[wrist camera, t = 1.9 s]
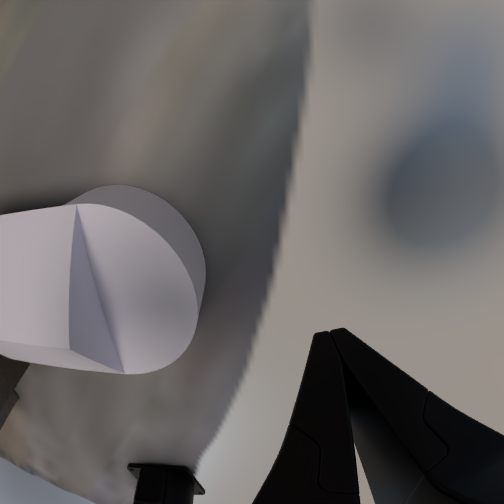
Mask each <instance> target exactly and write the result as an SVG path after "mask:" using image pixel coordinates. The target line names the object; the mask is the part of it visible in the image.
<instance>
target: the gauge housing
mask: <svg viewBox="0 0 504 504" xmlns="http://www.w3.org/2000/svg"><path fill="white" fill-rule="evenodd" d="M18 398H19V396H18V395H17V394H16V392H15V391H14V390H13V391H12V393H11V395H10V396H9V398H8V400H7V401H6V403H5V404H4V406H3V408H2V410H1V411H0V430H1V428H2V426H3V424H4V422H5V421H6V419H7V417H8V415H9V414H10V412H11V410H12V408H13V407H14V405H15V403H16V401H17V400H18Z"/></svg>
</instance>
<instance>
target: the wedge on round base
mask: <svg viewBox="0 0 504 504" xmlns="http://www.w3.org/2000/svg"><path fill="white" fill-rule="evenodd" d="M205 283H206V266H205V259H204V255H203V251H202V248H201V245H200V243H199V240H198V238H197V236H196V234H195V233H194V231H193V229H192V228H191V226H190V225H189V224H188V222H187V221H186V220H185V218H184V217H183V216H182V215H181V214H180V213H179V212H178V211H177V210H176V209H175V208H174V207H173V206H171V205H170V204H169V203H167V202H166V201H165V200H163V199H162V198H160V197H158V196H157V195H155V194H153V193H150V192H148V191H146V190H143V189H140V188H136V187H132V186H126V185H107V186H102V187H97V188H95V189H92V190H90V191H87V192H85V193H84V194H82V195H80V196H78V197H77V198H75V199H73V200H72V201H70V202H68V203H66V204H65V205H63V206H58V207H50V208H43V209H36V210H30V211H23V212H17V213H11V214H5V215H0V354H1V355H3V356H6V357H8V358H10V359H14V360H20V361H25V362H31V363H37V364H43V365H49V366H56V367H63V368H71V369H79V370H87V371H97V372H107V373H119V374H142V373H148V372H152V371H156V370H159V369H161V368H164V367H166V366H167V365H169V364H171V363H173V362H174V361H175V360H176V359H178V358H179V357H180V356H181V355H182V354H183V353H184V351H185V350H186V349H187V348H188V346H189V344H190V342H191V341H192V338H193V336H194V333H195V330H196V326H197V321H198V316H199V311H200V307H201V302H202V297H203V293H204V288H205Z"/></svg>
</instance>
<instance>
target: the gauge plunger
mask: <svg viewBox="0 0 504 504" xmlns="http://www.w3.org/2000/svg"><path fill="white" fill-rule="evenodd" d="M29 365H30V364H29V362H25V361H20V360H14V359H10V358H8V357H6V356H3V355H1V354H0V411H1V410H2V408H3V406H4V404H5V403H6V401H7V400H8V398H9V396H10V395H11V393H12V391H13V390H14V388H15V387H16V385H17V383H18V382H19V380H20V379H21V377H22V376H23V374H24V373H25V371H26V369H27V368H28V366H29Z"/></svg>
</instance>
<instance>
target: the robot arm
mask: <svg viewBox="0 0 504 504" xmlns="http://www.w3.org/2000/svg"><path fill="white" fill-rule="evenodd" d="M289 424H290V425H289V426H288V428H287V432H286V435H285V438H284V441H283V443H282V446H281V449H280V451H279V454H278V456H277V458H276V460H275V462H274V464H273V466H272V469H271V471H270V473H269V474H268V476H267V478H266V480H265V482H264V483H263V485H262V487H261V489H260V491H259V492H258V494H257V496H256V498H255V499H254V501H253V503H252V504H360V496H359V484H358V475H357V465H356V456H355V448H354V443H355V446H356V449H357V452H358V454H359V457H360V460H361V463H362V466H363V469H364V472H365V475H366V478H367V480H368V484H369V487H370V490H371V493H372V495H373V499H374V502H375V504H504V435H502V434H500V433H499V432H497V431H495V430H493V429H491V428H489V427H487V426H485V425H484V424H482V423H480V422H478V421H476V420H475V419H473V418H471V417H469V416H467V415H466V414H464V413H462V412H460V411H459V410H457V409H455V408H454V407H452V406H451V405H450V404H448V403H447V402H445V401H443V400H442V399H441V398H439V397H438V396H437V395H435V394H434V393H433V392H431V391H428V389H427V388H425V387H424V386H423V385H421V384H420V383H419V382H417V381H416V380H415V379H413V378H412V377H410V376H409V375H408V374H406V373H405V372H404V371H402V370H400V368H398V367H397V366H395V365H394V364H393V363H391V362H390V361H388V360H387V359H386V358H385V357H383V356H382V355H380V354H379V353H378V352H376V351H375V350H374V349H372V348H371V347H370V346H368V345H367V344H366V343H364V342H363V341H362V340H360V339H359V338H358V337H356V336H355V335H353V334H352V333H351V332H349V331H348V330H347V329H345V328H339V329H334V330H331V331H330V332H328V331H323V332H318V333H315V334H314V336H313V340H312V344H311V347H310V351H309V356H308V359H307V363H306V367H305V370H304V374H303V378H302V382H301V385H300V389H299V392H298V396H297V399H296V402H295V406H294V409H293V413H292V416H291V419H290V423H289ZM127 469H128V470H129V471H130V472H131V473H132V474H133V475H134V476H135V477H136V478H137V479H138V481H137V486H136V490H135V495H134V503H133V504H193V497H194V495H203V494H205V490H204V488H203V487H202V486H201V485H200V484H199V482H198V481H197V480H196V478H195V477H194V476H193V474H192V473H191V472H190V470H189V469H188V468H186V467H167V466H147V465H133V464H129V465H128V467H127Z"/></svg>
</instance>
